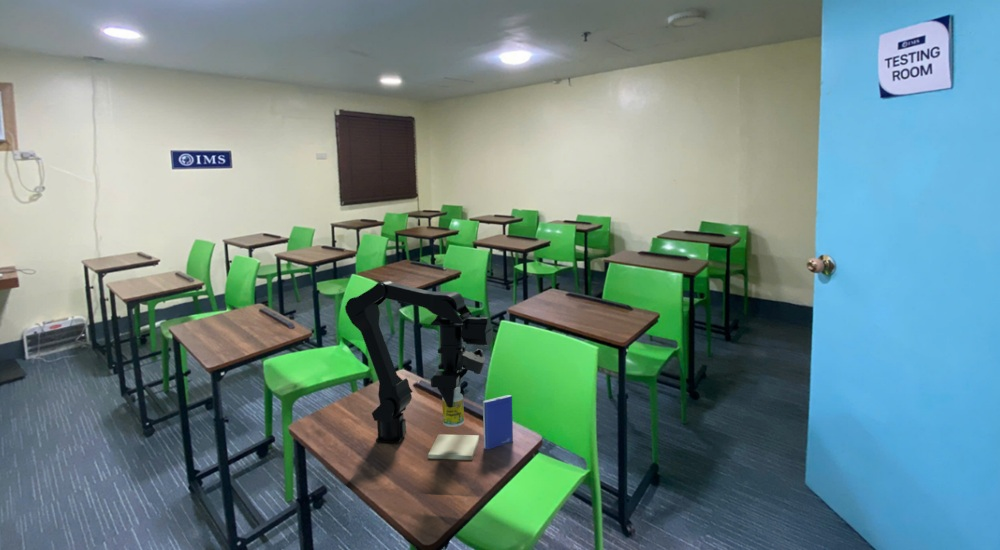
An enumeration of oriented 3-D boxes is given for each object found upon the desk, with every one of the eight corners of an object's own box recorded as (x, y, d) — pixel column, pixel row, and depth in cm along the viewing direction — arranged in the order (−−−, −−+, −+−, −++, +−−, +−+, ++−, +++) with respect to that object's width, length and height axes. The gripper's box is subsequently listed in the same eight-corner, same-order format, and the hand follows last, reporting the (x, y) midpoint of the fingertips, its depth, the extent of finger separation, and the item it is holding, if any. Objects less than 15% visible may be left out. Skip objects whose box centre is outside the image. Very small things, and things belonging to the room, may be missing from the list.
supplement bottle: (462, 417, 123) (461, 382, 122) (465, 426, 118) (464, 388, 117) (441, 420, 122) (440, 384, 121) (444, 428, 117) (443, 390, 116)
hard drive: (513, 441, 124) (512, 396, 122) (486, 450, 120) (485, 403, 118) (510, 439, 125) (509, 394, 124) (483, 447, 121) (482, 401, 119)
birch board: (428, 460, 116) (428, 454, 116) (438, 439, 127) (438, 434, 127) (472, 461, 115) (472, 455, 115) (479, 441, 126) (479, 435, 125)
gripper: (476, 353, 107) (477, 419, 109) (488, 334, 126) (489, 390, 128) (428, 352, 109) (431, 417, 111) (447, 334, 127) (449, 389, 129)
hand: (452, 402), depth 119 cm, fingers closed on supplement bottle, 5 cm apart
